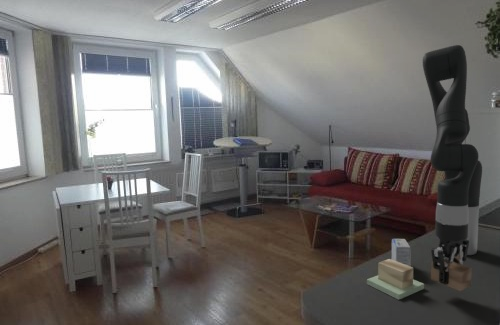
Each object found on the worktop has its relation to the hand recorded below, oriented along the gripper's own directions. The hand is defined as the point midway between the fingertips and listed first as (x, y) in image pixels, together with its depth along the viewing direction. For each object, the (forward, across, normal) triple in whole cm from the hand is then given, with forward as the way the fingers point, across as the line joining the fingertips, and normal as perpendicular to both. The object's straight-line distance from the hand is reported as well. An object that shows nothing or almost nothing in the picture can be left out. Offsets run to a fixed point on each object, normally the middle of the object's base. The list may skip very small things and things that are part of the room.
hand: (449, 280), depth 95 cm
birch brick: (+3, +6, -12) cm, 14 cm away
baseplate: (+5, +6, -12) cm, 15 cm away
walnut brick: (+1, 0, 0) cm, 1 cm away
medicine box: (+5, -6, -19) cm, 21 cm away
